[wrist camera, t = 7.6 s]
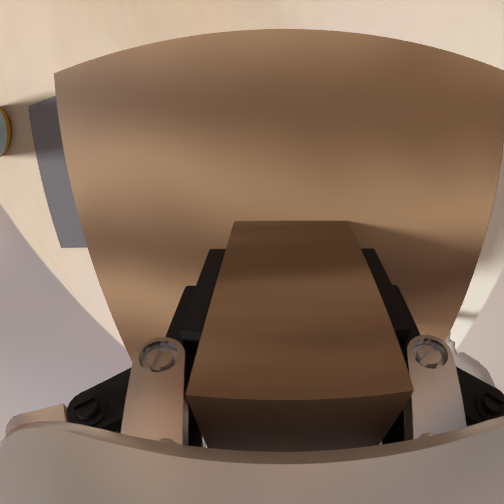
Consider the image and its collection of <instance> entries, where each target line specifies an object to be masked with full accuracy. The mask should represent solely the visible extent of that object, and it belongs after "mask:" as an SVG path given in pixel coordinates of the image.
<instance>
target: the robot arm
mask: <svg viewBox="0 0 504 504" xmlns="http://www.w3.org/2000/svg"><path fill="white" fill-rule="evenodd" d="M225 250H226V249H210V250H209V252H208V255H207V257H206V260H205V263H204V265H203V268H202V271H201V273H200V276H199V279H198V281H197V284H196V286H186V287H185V289H184V291H183V294H182V296H181V299H180V301H179V304H178V306H177V308H176V311H175V314H174V316H173V319H172V321H171V324H170V326H169V329H168V331H167V334H166V336H165V337H159V338H153V339H151V340H148V341H146V342H145V343H143V344H142V345H140V347H139V348H138V349H137V350H136V352H135V355H134V358H133V363H132V367H131V368H129V369H127V370H126V371H124V372H122V373H120V374H118V375H116V376H114V377H112V378H110V379H108V380H106V381H104V382H102V383H100V384H98V385H96V386H94V387H92V388H90V389H88V390H86V391H84V392H81V393H80V394H78V395H77V396H75V397H74V398H73V400H71V402H70V403H69V406H65V405H64V404H59V405H55V406H51V407H47V408H44V409H39V410H35V411H31V412H27V413H23V414H19V415H17V416H14V417H13V418H12V419H11V420H10V421H9V423H8V425H7V427H6V436H5V437H4V439H3V440H2V441H1V443H0V504H504V394H503V393H502V392H501V391H500V390H498V389H497V388H495V387H493V386H491V385H490V384H488V383H486V382H484V381H482V380H480V379H478V378H477V377H475V376H473V375H471V374H469V373H467V372H466V371H464V370H462V369H460V368H458V367H456V366H455V361H454V357H453V353H452V351H451V349H450V347H449V346H448V345H447V343H446V342H444V341H443V340H442V339H440V338H438V337H435V336H432V335H420V333H419V330H418V328H417V326H416V324H415V321H414V319H413V317H412V315H411V313H410V310H409V308H408V306H407V304H406V302H405V300H404V298H403V295H402V293H401V291H400V289H399V288H398V286H397V285H392V284H391V282H390V279H389V277H388V275H387V273H386V271H385V269H384V267H383V265H382V263H381V261H380V259H379V257H378V255H377V253H376V251H375V249H373V248H361V250H362V253H363V255H364V257H365V259H366V262H367V264H368V266H369V269H370V271H371V273H372V276H373V278H374V280H375V283H376V285H377V288H378V290H379V293H380V295H381V297H382V300H383V303H384V305H385V308H386V310H387V313H388V315H389V318H390V321H391V323H392V326H393V329H394V331H395V334H396V337H397V340H398V342H399V345H400V348H401V351H402V354H403V357H404V360H405V363H406V366H407V369H408V372H409V375H410V378H411V381H412V384H413V388H414V392H413V393H412V395H411V397H410V398H409V400H408V402H407V403H406V405H405V407H404V408H403V410H402V411H401V413H400V415H399V416H398V418H397V419H396V421H395V422H394V424H393V425H392V427H391V428H390V430H389V431H388V433H387V434H386V436H385V437H384V439H383V440H382V442H381V443H380V444H379V445H376V446H369V447H360V448H351V449H340V450H327V451H306V452H260V451H239V450H225V449H213V448H206V443H205V441H204V439H203V436H202V434H201V432H200V429H199V427H198V425H197V422H196V420H195V417H194V415H193V412H192V410H191V407H190V405H189V402H188V400H187V397H186V391H187V387H188V383H189V379H190V376H191V372H192V368H193V364H194V361H195V357H196V353H197V349H198V346H199V342H200V338H201V335H202V331H203V328H204V324H205V320H206V317H207V313H208V310H209V306H210V302H211V299H212V295H213V292H214V288H215V285H216V281H217V278H218V274H219V271H220V267H221V264H222V261H223V257H224V254H225Z"/></svg>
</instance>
